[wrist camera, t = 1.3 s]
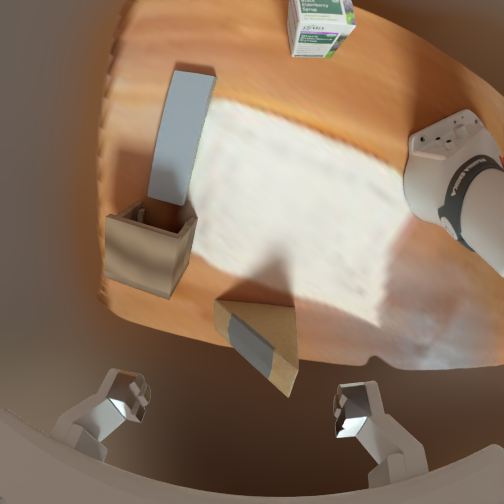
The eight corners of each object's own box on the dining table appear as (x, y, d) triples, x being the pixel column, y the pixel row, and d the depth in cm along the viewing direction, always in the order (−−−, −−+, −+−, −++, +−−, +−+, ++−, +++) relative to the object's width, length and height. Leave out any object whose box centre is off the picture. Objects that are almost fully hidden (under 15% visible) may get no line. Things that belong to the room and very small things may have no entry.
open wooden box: (138, 195, 42) (105, 216, 33) (199, 212, 42) (178, 238, 33) (133, 247, 46) (105, 277, 37) (188, 265, 47) (169, 300, 38)
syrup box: (290, 58, 30) (298, 24, 17) (285, 24, 28) (290, -21, 15) (330, 58, 30) (358, 27, 17) (325, 24, 27) (347, -17, 14)
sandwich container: (213, 297, 50) (193, 357, 37) (295, 305, 49) (299, 368, 36) (214, 330, 54) (198, 388, 41) (288, 338, 53) (289, 398, 40)
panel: (180, 72, 33) (174, 70, 30) (217, 78, 33) (214, 76, 31) (153, 192, 42) (147, 196, 40) (186, 201, 42) (181, 206, 40)
